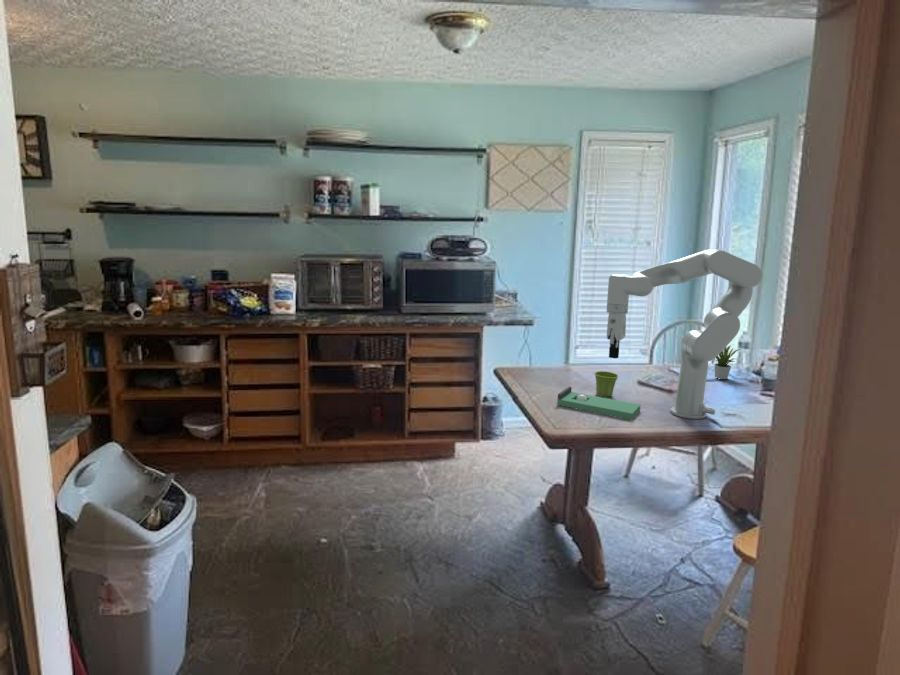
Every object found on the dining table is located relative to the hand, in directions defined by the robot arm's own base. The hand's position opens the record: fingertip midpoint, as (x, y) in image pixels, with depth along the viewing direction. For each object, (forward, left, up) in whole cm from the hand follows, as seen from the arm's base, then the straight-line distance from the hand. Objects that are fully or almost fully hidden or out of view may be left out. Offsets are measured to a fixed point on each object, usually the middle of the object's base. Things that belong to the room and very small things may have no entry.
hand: (613, 357), depth 241 cm
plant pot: (+6, -17, -20) cm, 27 cm away
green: (+3, +2, -20) cm, 20 cm away
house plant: (-32, -80, -20) cm, 89 cm away
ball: (+10, +2, -18) cm, 20 cm away
